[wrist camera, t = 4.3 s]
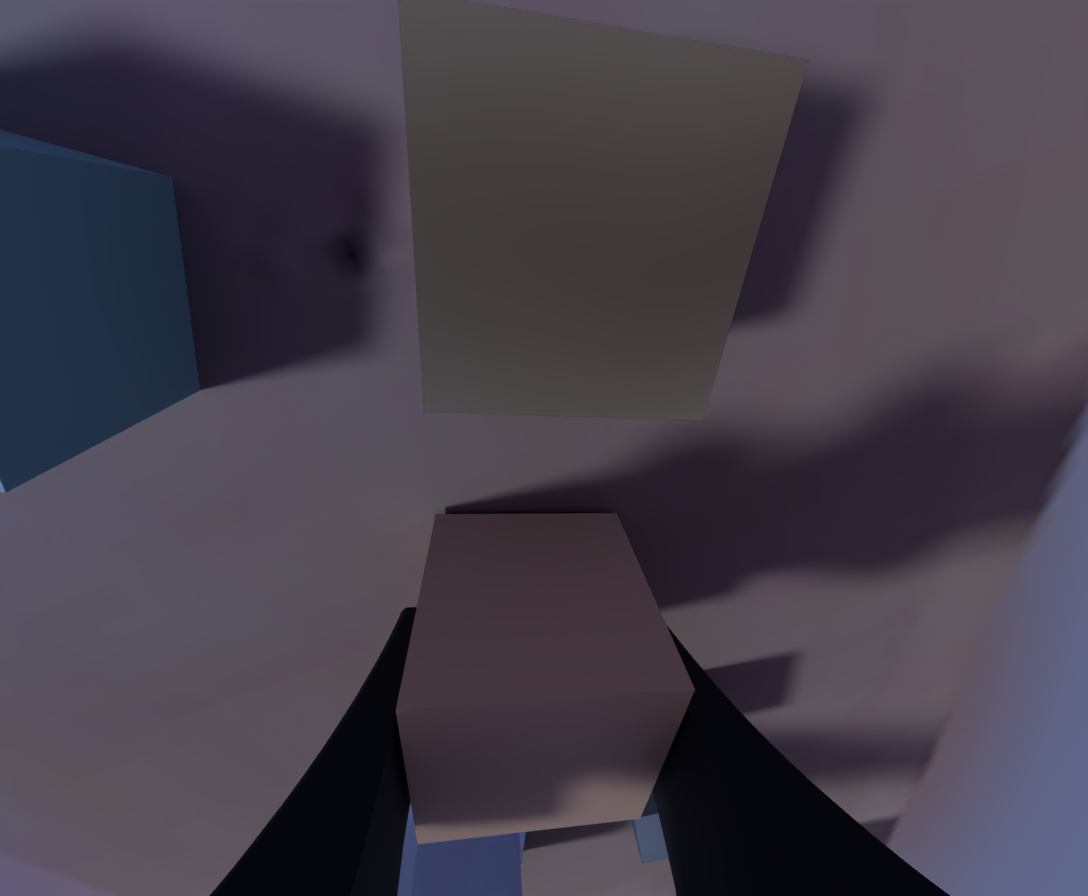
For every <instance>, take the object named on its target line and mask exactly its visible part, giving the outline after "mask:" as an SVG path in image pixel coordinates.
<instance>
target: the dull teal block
mask: <svg viewBox="0 0 1088 896" xmlns="http://www.w3.org/2000/svg"><path fill="white" fill-rule="evenodd" d="M198 391H200V386H199V379H198V371H197V363H196V356H195V348H194V341H193V333H192V325H191V318H190V310H189V303H188V295H187V287H186V280H185V272H184V264H183V257H182V249H181V242H180V234H179V226H178V219H177V211H176V203H175V196H174V188H173V181H172V177H170V176H167V175H163V174H159V173H156V172H152V171H148V170H145V169H141V168H138V167H134V166H130V165H127V164H123V163H119V162H116V161H112V160H109V159H105V158H101V157H98V156H94V155H91V154H87V153H83V152H80V151H76V150H72V149H69V148H65V147H62V146H58V145H54V144H51V143H47V142H44V141H40V140H36V139H33V138H29V137H25V136H22V135H18V134H15V133H11V132H7V131H4V130H0V492H5V493H6V492H8V491H10V490H11V489H13V488H15V487H17V486H19V485H21V484H23V483H25V482H27V481H29V480H30V479H32V478H34V477H36V476H38V475H40V474H42V473H44V472H46V471H48V470H49V469H51V468H53V467H55V466H57V465H59V464H61V463H63V462H65V461H67V460H68V459H70V458H72V457H74V456H76V455H78V454H80V453H82V452H84V451H86V450H87V449H89V448H91V447H93V446H95V445H97V444H99V443H101V442H103V441H105V440H106V439H108V438H110V437H112V436H114V435H116V434H118V433H120V432H122V431H124V430H125V429H127V428H129V427H131V426H133V425H135V424H137V423H139V422H141V421H143V420H144V419H146V418H148V417H150V416H152V415H154V414H156V413H158V412H160V411H162V410H163V409H165V408H167V407H169V406H171V405H173V404H175V403H177V402H179V401H181V400H182V399H184V398H186V397H188V396H190V395H192V394H194V393H196V392H198Z"/></svg>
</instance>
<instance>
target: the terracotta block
mask: <svg viewBox="0 0 1088 896" xmlns="http://www.w3.org/2000/svg"><path fill="white" fill-rule="evenodd" d="M694 691H695V688H694V686H693V684H692V682H691V679H690V677H689V675H688V673H687V670H686V668H685V666H684V664H683V661H682V659H681V657H680V655H679V652H678V650H677V648H676V646H675V643H674V641H673V639H672V637H671V634H670V632H669V630H668V628H667V625H666V623H665V621H664V619H663V616H662V614H661V612H660V610H659V607H658V605H657V603H656V601H655V598H654V596H653V594H652V592H651V589H650V587H649V585H648V583H647V580H646V578H645V576H644V574H643V571H642V569H641V567H640V565H639V562H638V560H637V558H636V556H635V553H634V551H633V549H632V547H631V544H630V542H629V540H628V538H627V535H626V533H625V531H624V529H623V526H622V524H621V522H620V520H619V517H618V515H617V513H555V514H436V516H435V521H434V526H433V531H432V536H431V541H430V545H429V550H428V555H427V560H426V565H425V570H424V575H423V580H422V584H421V589H420V594H419V599H418V604H417V609H416V614H415V619H414V623H413V628H412V633H411V638H410V643H409V648H408V653H407V658H406V663H405V667H404V672H403V677H402V682H401V687H400V692H399V697H398V702H397V706H396V716H397V722H398V728H399V734H400V740H401V746H402V752H403V759H404V765H405V771H406V777H407V783H408V789H409V795H410V801H411V807H412V813H413V820H414V826H415V832H416V838H417V844H425V843H433V842H442V841H451V840H460V839H468V838H477V837H486V836H494V835H503V834H512V833H520V832H529V831H538V830H546V829H555V828H564V827H573V826H581V825H590V824H599V823H607V822H616V821H625V820H633V819H640V818H641V815H642V813H643V811H644V808H645V806H646V804H647V801H648V799H649V796H650V794H651V792H652V789H653V787H654V785H655V782H656V780H657V778H658V775H659V773H660V771H661V768H662V766H663V764H664V761H665V759H666V757H667V754H668V752H669V750H670V747H671V745H672V742H673V740H674V738H675V735H676V733H677V731H678V728H679V726H680V724H681V721H682V719H683V717H684V714H685V712H686V710H687V707H688V705H689V703H690V700H691V698H692V695H693V693H694Z"/></svg>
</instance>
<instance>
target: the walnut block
mask: <svg viewBox="0 0 1088 896" xmlns="http://www.w3.org/2000/svg"><path fill="white" fill-rule="evenodd" d="M398 6H399V22H400V38H401V54H402V70H403V86H404V101H405V117H406V133H407V149H408V165H409V181H410V197H411V213H412V229H413V245H414V261H415V277H416V292H417V308H418V324H419V340H420V356H421V372H422V388H423V404H424V412H439V413H471V414H502V415H534V416H566V417H598V418H630V419H661V420H693V421H703V417H704V414H705V411H706V407H707V404H708V400H709V397H710V394H711V390H712V387H713V383H714V380H715V377H716V373H717V370H718V367H719V363H720V360H721V356H722V353H723V350H724V346H725V343H726V339H727V336H728V333H729V329H730V326H731V322H732V319H733V316H734V312H735V309H736V306H737V302H738V299H739V295H740V292H741V289H742V285H743V282H744V278H745V275H746V272H747V268H748V265H749V262H750V258H751V255H752V251H753V248H754V245H755V241H756V238H757V234H758V231H759V228H760V224H761V221H762V218H763V214H764V211H765V207H766V204H767V201H768V197H769V194H770V190H771V187H772V184H773V180H774V177H775V174H776V170H777V167H778V163H779V160H780V157H781V153H782V150H783V146H784V143H785V140H786V136H787V133H788V130H789V126H790V123H791V119H792V116H793V113H794V109H795V106H796V102H797V99H798V96H799V92H800V89H801V86H802V82H803V79H804V75H805V72H806V69H807V65H808V62H809V60H805V59H799V58H794V57H788V56H782V55H776V54H771V53H765V52H759V51H753V50H748V49H742V48H736V47H730V46H725V45H719V44H713V43H707V42H701V41H696V40H690V39H684V38H678V37H673V36H667V35H661V34H655V33H650V32H644V31H638V30H632V29H627V28H621V27H615V26H609V25H604V24H598V23H592V22H586V21H580V20H575V19H569V18H563V17H557V16H552V15H546V14H540V13H534V12H529V11H523V10H517V9H511V8H506V7H500V6H494V5H488V4H483V3H477V2H471V1H465V0H398Z"/></svg>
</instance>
